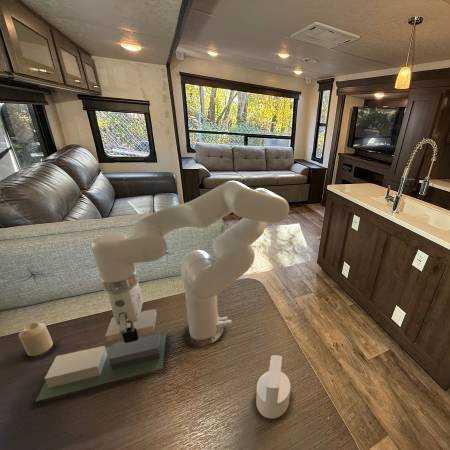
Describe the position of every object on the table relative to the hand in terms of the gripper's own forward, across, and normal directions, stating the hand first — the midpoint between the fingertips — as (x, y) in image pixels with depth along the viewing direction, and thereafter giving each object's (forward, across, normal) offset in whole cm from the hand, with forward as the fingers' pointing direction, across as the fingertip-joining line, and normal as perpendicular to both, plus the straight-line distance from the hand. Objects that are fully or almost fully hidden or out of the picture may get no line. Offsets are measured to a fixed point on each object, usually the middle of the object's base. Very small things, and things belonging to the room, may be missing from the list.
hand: (134, 329), depth 71 cm
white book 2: (+10, 0, +15) cm, 18 cm away
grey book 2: (+10, 0, +1) cm, 10 cm away
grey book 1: (+8, 0, +1) cm, 8 cm away
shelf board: (+12, 0, +8) cm, 14 cm away
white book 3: (-1, 0, 0) cm, 1 cm away
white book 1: (+8, 0, +15) cm, 17 cm away
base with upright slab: (+13, -25, -34) cm, 44 cm away
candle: (+11, +12, +28) cm, 32 cm away
